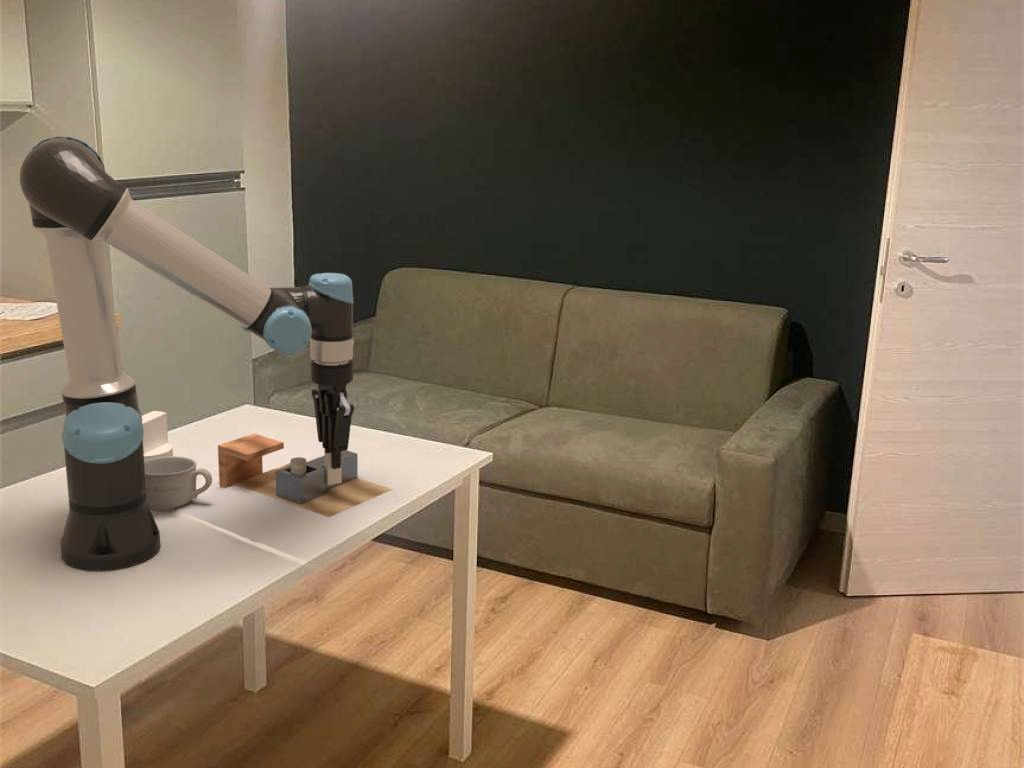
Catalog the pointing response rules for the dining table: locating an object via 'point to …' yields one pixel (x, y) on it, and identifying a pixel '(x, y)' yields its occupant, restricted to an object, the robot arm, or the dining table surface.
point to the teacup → (172, 482)
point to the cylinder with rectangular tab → (156, 435)
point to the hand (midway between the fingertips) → (333, 482)
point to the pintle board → (324, 501)
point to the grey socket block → (313, 479)
